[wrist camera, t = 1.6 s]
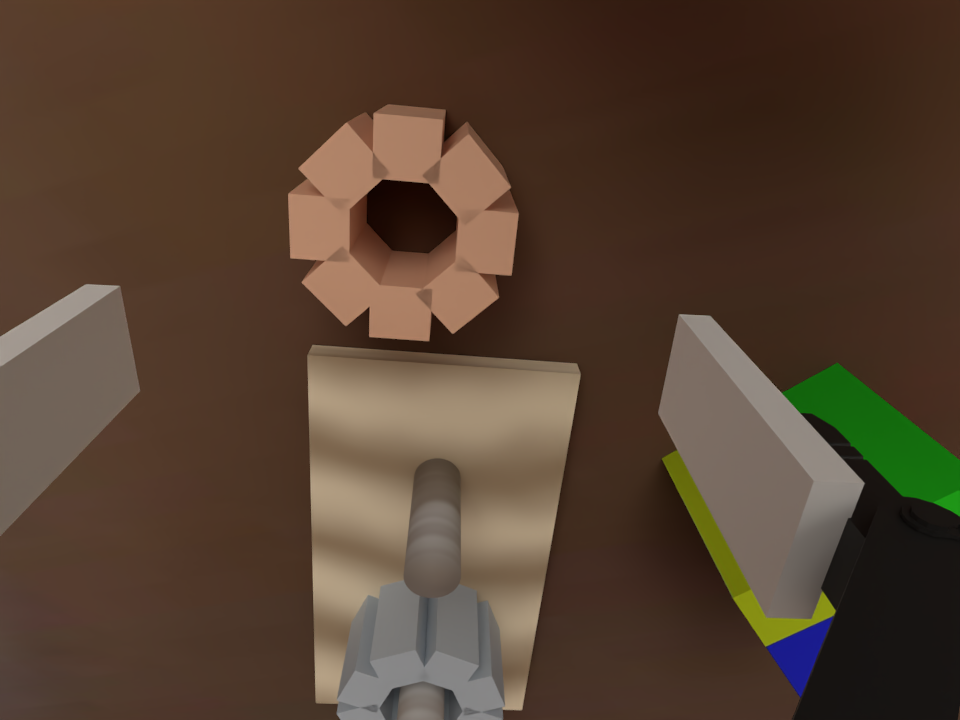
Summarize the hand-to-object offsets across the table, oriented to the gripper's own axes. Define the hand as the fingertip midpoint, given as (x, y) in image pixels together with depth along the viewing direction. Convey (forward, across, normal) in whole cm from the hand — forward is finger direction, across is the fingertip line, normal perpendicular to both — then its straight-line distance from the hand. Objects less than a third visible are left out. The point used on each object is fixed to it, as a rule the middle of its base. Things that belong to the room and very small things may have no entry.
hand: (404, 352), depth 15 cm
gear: (+13, 0, -24) cm, 28 cm away
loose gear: (+15, -1, 0) cm, 15 cm away
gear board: (+14, 0, -19) cm, 24 cm away
